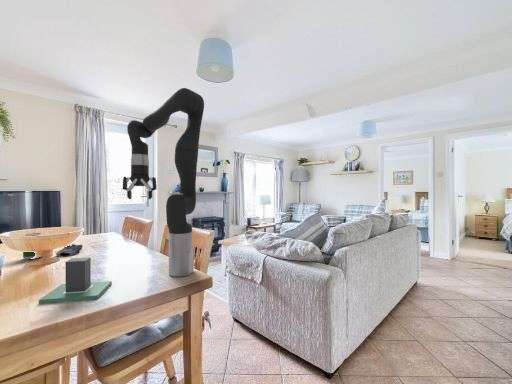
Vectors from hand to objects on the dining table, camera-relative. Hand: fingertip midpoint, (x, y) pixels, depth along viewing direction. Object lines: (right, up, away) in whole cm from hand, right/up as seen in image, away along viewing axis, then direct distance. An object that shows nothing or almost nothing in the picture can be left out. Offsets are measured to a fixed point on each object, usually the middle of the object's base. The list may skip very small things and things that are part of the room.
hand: (140, 199), depth 113 cm
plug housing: (-5, -29, -32) cm, 44 cm away
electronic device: (-46, -30, +16) cm, 57 cm away
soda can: (-56, -30, +6) cm, 64 cm away
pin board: (-5, -31, -32) cm, 45 cm away
